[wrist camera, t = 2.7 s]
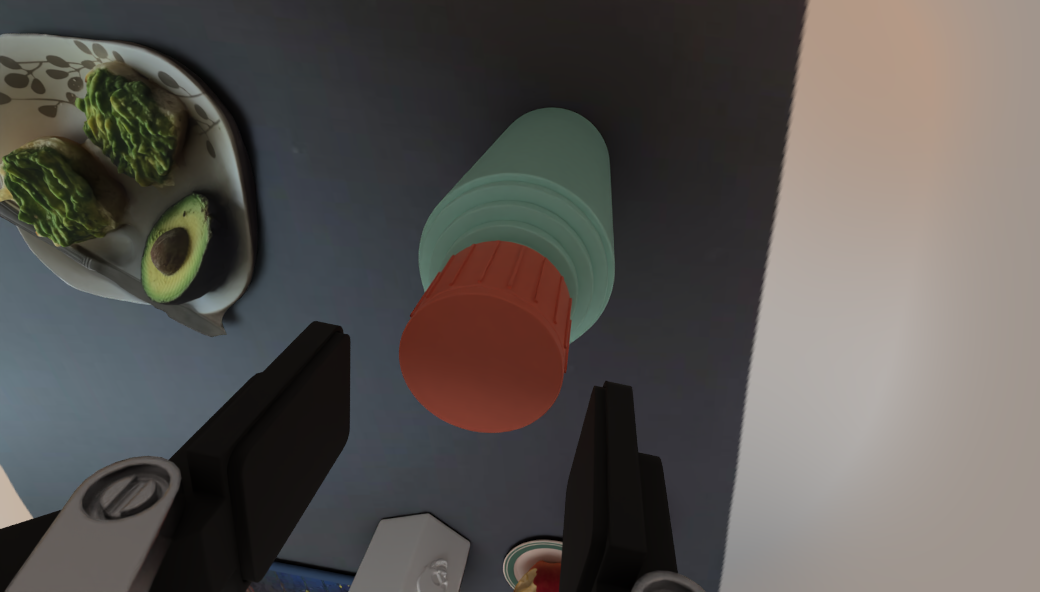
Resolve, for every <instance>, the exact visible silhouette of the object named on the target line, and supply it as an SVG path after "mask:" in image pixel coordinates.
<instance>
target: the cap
mask: <svg viewBox="0 0 1040 592" xmlns="http://www.w3.org/2000/svg"><path fill="white" fill-rule="evenodd" d="M571 306H572V298H570V295H569V291H568V288H567V285H566V283H565V281H564V277H563V276H561V274H560V273H559V271H558V270H557V269H556V267H555V266H554V265H553V264H552V263H551V262H550V261H549V260H548V259H547V258H545V257H544V256H542V255H541V254H540V253H538V252H536V251H535V250H533V249H531V248H529V247H527V246H524V245H521V244H517V243H513V242H507V241H500V240H497V241H488V242H482V243H478V244H472V245H471V246H470V247H467V248H465V249H464V250H462V251H460V252H459V253H457V254H456V255H452V256H451V258H450V259H449V261H448V262H447V264H446V265H445V267H444V268H443V270H442V271H441V272H438V274H437V275H436V277H435V278H434V280H433V281H432V283H431V284H430V286H429V287H428V289H427V290H426V292H425V293H424V295H423V296H422V298H421V299H420V301H419V302H418V304H417V305H416V307H415V308H414V310H413V311H412V313H411V315H410V317H412V318H411V319H410V321H409V322H408V324H407V325H406V327H405V329H404V331H403V334H402V337H401V340H400V347H399V361H400V367H401V371H402V374H403V377H404V379H405V381H406V384H407V386H408V387H409V389H410V390H411V392H412V394H413V395H414V396H415V397H416V399H417V400H418V401H419V402H420V403H421V404H422V405H423V406H424V407H425V408H426V409H427V410H429V411H430V412H431V413H433V414H434V415H435V416H437V417H439V418H440V419H442V420H444V421H446V422H448V423H450V424H452V425H454V426H457V427H460V428H463V429H467V430H470V431H476V432H485V433H498V432H506V431H512V430H515V429H519V428H522V427H524V426H527V425H529V424H531V423H532V422H534V421H536V420H537V419H539V418H540V417H541V416H542V415H544V414H545V413H546V412H547V411H548V410H549V409H550V407H551V406H552V405H553V403H554V402H555V400H556V399H557V397H558V395H559V393H560V389H561V386H562V382H563V375H564V373H566V369H567V360H568V350H569V341H570V331H571V322H572V320H570V315H571Z"/></svg>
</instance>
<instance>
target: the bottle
mask: <svg viewBox="0 0 1040 592" xmlns="http://www.w3.org/2000/svg"><path fill="white" fill-rule="evenodd" d="M497 240H500V241H507V242H513V243H517V244H521V245H524V246H527V247H529V248H531V249H533V250H535V251H536V252H538V253H540V254H541V255H542V256H544V257H545V258H547V259H548V260H549V261H550V262H551V263H552V264H553V265H554V266H555V267H556V269H557V270H558V271H559V273H560V274H561V276H563V277H564V281H565V283H566V285H567V288H568V291H569V295H570V298H572V306H571V315H570V320H572V322H571V331H570V341H569V344H570V343H571V342H573V341H575V340H576V339H577V338H578V337H580V336H581V335H582V334H584V333H585V332H586V331H587V330H588V329H589V328H590V327H591V326H592V325H593V324H594V323H595V322H596V321H597V319H598V318H599V317H600V315H601V314H602V312H603V311H604V309H605V307H606V305H607V303H608V301H609V298H610V295H611V292H612V288H613V283H614V275H615V260H614V239H613V218H612V197H611V177H610V160H609V154H608V149H607V146H606V144H605V141H604V139H603V138H602V136H601V134H600V133H599V131H598V130H597V129H596V127H595V126H594V125H593V124H592V123H591V122H589V121H588V120H587V119H586V118H584V117H583V116H581V115H579V114H577V113H575V112H573V111H570V110H567V109H563V108H554V107H553V108H541V109H537V110H534V111H530V112H528V113H526V114H524V115H522V116H521V117H519V118H518V119H517V120H515V121H514V122H513V123H512V124H511V125H510V126H509V127H508V128H507V129H506V130H505V131H504V133H503V134H502V135H501V136H500V137H499V138H498V139H497V140H496V141H495V142H494V143H493V145H492V146H491V147H490V148H489V149H488V150H487V151H486V152H485V153H484V154H483V156H482V157H481V158H480V159H479V160H478V161H477V162H476V163H475V164H474V165H473V166H472V168H471V169H470V170H469V171H468V172H467V173H466V174H465V175H464V176H463V177H462V179H461V180H460V181H459V182H458V183H457V184H456V185H455V186H454V187H453V188H452V189H451V191H450V192H449V193H448V194H447V195H446V196H445V197H444V198H443V199H442V201H441V202H440V203H439V204H438V205H437V206H436V207H435V209H434V210H433V212H432V213H431V215H430V216H429V218H428V220H427V222H426V225H425V227H424V229H423V232H422V236H421V239H420V246H419V269H420V276H421V279H422V284H423V287H424V291H425V292H426V290H427V289H428V287H429V286H430V284H431V283H432V281H433V280H434V278H435V277H436V275H437V274H438V272H441V271H442V270H443V268H444V267H445V265H446V264H447V262H448V261H449V259H450V258H451V256H452V255H456V254H457V253H459V252H460V251H462V250H464V249H465V248H467V247H470V246H471V245H472V244H478V243H482V242H488V241H497Z"/></svg>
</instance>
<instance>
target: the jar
mask: <svg viewBox="0 0 1040 592" xmlns="http://www.w3.org/2000/svg"><path fill="white" fill-rule="evenodd" d="M469 549H470V542H469V541H468V540H466V539H465V538H463V537H462V536H461V535H459V534H458V533H456V532H455V531H453V530H452V529H451V528H449V527H448V526H446V525H445V524H443V523H442V522H441V521H439V520H438V519H436V518H435V517H433V516H432V515H430V514H429V513H425V514H418V515H411V516H404V517H397V518H390V519H383V520H381V521H380V522H379V524H378V527H377V529H376V531H375V533H374V536H373V538H372V540H371V542H370V544H369V547H368V549H367V551H366V553H365V556H364V558H363V560H362V562H361V564H360V567H359V569H358V571H357V573H356V576H355V578H354V580H353V582H352V584H351V587H350V589H349V591H348V592H460V588H461V584H462V580H463V576H464V572H465V567H466V563H467V558H468V554H469Z"/></svg>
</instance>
